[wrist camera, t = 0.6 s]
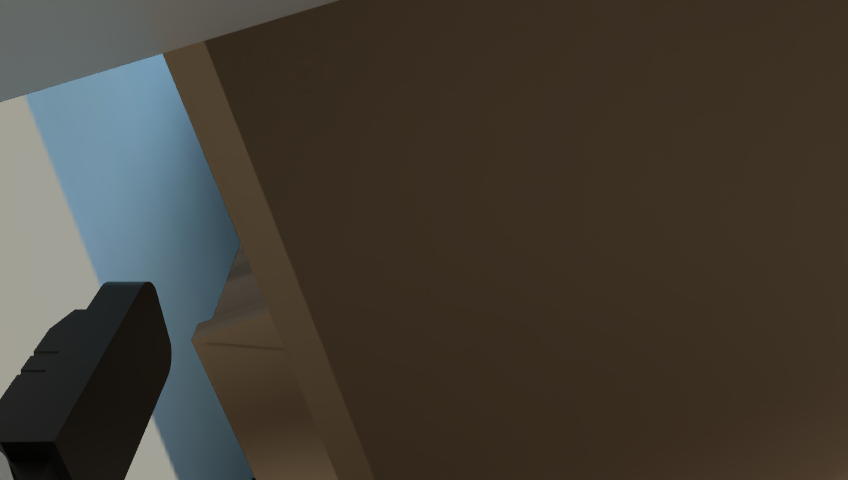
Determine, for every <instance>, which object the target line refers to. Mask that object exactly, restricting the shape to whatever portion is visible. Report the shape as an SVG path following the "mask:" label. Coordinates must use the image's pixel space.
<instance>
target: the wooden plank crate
mask: <svg viewBox="0 0 848 480" xmlns="http://www.w3.org/2000/svg"><path fill="white" fill-rule="evenodd" d="M163 56H164V58H165V60H166V63H167V65H168V68H169V70H170V73H171V75H172V77H173V80H174V82H175V85H176V87H177V90H178V92H179V94H180V97H181V99H182V102H183V104H184V107H185V109H186V111H187V114H188V116H189V119H190V121H191V124H192V126H193V128H194V131H195V133H196V136H197V138H198V141H199V143H200V145H201V148H202V150H203V153H204V155H205V158H206V160H207V162H208V165H209V167H210V170H211V172H212V175H213V177H214V179H215V182H216V184H217V187H218V189H219V192H220V194H221V196H222V199H223V201H224V204H225V206H226V209H227V211H228V213H229V216H230V218H231V221H232V223H233V226H234V228H235V230H236V233H237V235H238V238H239V240H240V242H241V243H240V246H239V249H238V251H237V254H236V257H235V259H234V262H233V265H232V268H231V270H230V273H229V276H228V278H227V281H226V284H225V286H224V289H223V292H222V294H221V297H220V300H219V302H218V305H217V308H216V310H215V313H214V316H213V318H212V319H211V320H208V321H205V322H202V323H199V324H198V325H197V328H196V330H195V332H194V335H193V337H192V340H191V341H192V343H193V345H194V347H195V349H196V352H197V354H198V356H199V358H200V360H201V362H202V364H203V367H204V369H205V371H206V373H207V375H208V377H209V380H210V382H211V384H212V386H213V388H214V390H215V392H216V395H217V397H218V399H219V401H220V403H221V405H222V408H223V410H224V412H225V414H226V416H227V418H228V420H229V423H230V425H231V427H232V429H233V431H234V433H235V436H236V438H237V440H238V442H239V444H240V446H241V448H242V451H243V453H244V455H245V457H246V459H247V461H248V464H249V466H250V468H251V470H252V472H253V474H254V477H255V479H256V480H848V0H339V1H335V2H332V3H329V4H325V5H322V6H319V7H315V8H312V9H309V10H305V11H302V12H299V13H295V14H292V15H289V16H285V17H282V18H279V19H275V20H272V21H269V22H265V23H262V24H259V25H255V26H252V27H249V28H245V29H242V30H239V31H235V32H232V33H229V34H225V35H222V36H219V37H215V38H212V39H209V40H205V41H202V42H199V43H195V44H192V45H189V46H185V47H182V48H179V49H175V50H172V51H169V52H165V53H163Z"/></svg>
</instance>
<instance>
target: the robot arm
mask: <svg viewBox="0 0 848 480" xmlns="http://www.w3.org/2000/svg"><path fill="white" fill-rule="evenodd" d="M170 366H171V343H170V339H169V335H168V332H167V328H166V325H165V321H164V317H163V314H162V310H161V306H160V303H159V299H158V295H157V292H156V289H155V287H154V285H153V284H152V283H151V282H106V283H104V284H103V285H102V287H101V288H100V289H99V291H98V293H97V294H96V296H95V297H94V299H93V300H92V302H91V303H90V305H89V306H88V308H87V309H86V310H74V311H73V312H71V313H70V314H69V315H67V316H66V317H65V318H63V319H62V320H61V321H59V322H58V323H57V324H55V325H54V326H53V327H52V328H50V329H49V331H48V332H47V333H46V335H45V336H44V338H43V339H42V340H41V342H40V343H39V345H38V346H37V348H36V349H35V350H34V356H30V358H29V359H28V360H27V362H26V363H25V365H24V366H23V367H22V369H21V374H20V375H17V376H16V377H15V379H14V380H13V382H12V383H11V385H10V386H9V388H8V389H7V390H6V392H5V393H4V395H3V396H2V398H1V399H0V480H124V479H125V477H126V474H127V472H128V470H129V467H130V465H131V462H132V460H133V458H134V455H135V453H136V451H137V448H138V446H139V444H140V441H141V439H142V436H143V434H144V432H145V429H146V427H147V425H148V422H149V420H150V418H151V415H152V413H153V410H154V408H155V406H156V403H157V401H158V399H159V396H160V394H161V391H162V389H163V387H164V384H165V382H166V380H167V377H168V374H169V371H170Z"/></svg>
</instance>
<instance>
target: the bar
mask: <svg viewBox="0 0 848 480" xmlns="http://www.w3.org/2000/svg"><path fill="white" fill-rule="evenodd" d="M335 1H339V0H0V102H2V101H5V100H9V99H12V98H15V97H19V96H22V95H25V94H29V93H32V92H35V91H39V90H42V89H45V88H49V87H52V86H55V85H59V84H62V83H65V82H69V81H72V80H75V79H79V78H82V77H85V76H89V75H92V74H95V73H99V72H102V71H105V70H109V69H112V68H115V67H119V66H122V65H125V64H129V63H132V62H135V61H139V60H142V59H145V58H149V57H152V56H155V55H159V54H162V53H165V52H169V51H172V50H175V49H179V48H182V47H185V46H189V45H192V44H195V43H199V42H202V41H205V40H209V39H212V38H215V37H219V36H222V35H225V34H229V33H232V32H235V31H239V30H242V29H245V28H249V27H252V26H255V25H259V24H262V23H265V22H269V21H272V20H275V19H279V18H282V17H285V16H289V15H292V14H295V13H299V12H302V11H305V10H309V9H312V8H315V7H319V6H322V5H325V4H329V3H332V2H335Z"/></svg>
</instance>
